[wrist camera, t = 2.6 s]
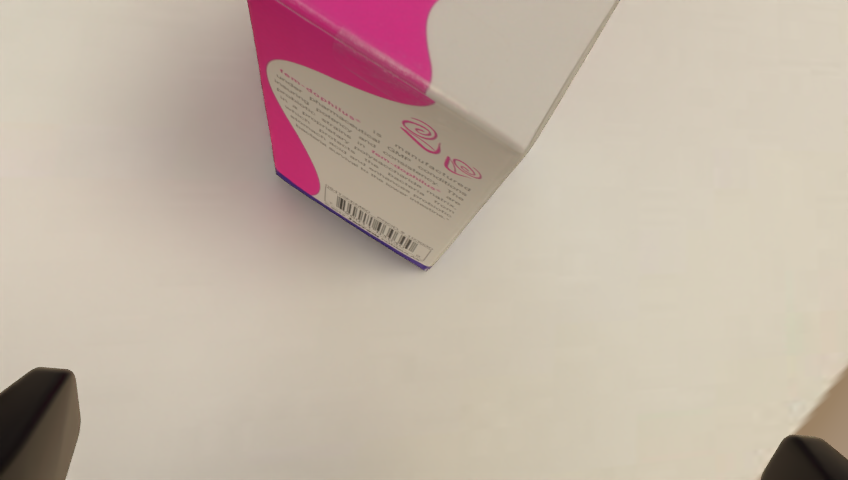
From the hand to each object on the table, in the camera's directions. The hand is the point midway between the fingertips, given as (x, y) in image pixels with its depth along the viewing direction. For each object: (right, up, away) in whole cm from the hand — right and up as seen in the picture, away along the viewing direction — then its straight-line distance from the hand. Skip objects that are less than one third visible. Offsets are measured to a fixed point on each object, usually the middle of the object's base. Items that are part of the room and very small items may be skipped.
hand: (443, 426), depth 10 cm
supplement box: (-1, +5, +15) cm, 16 cm away
